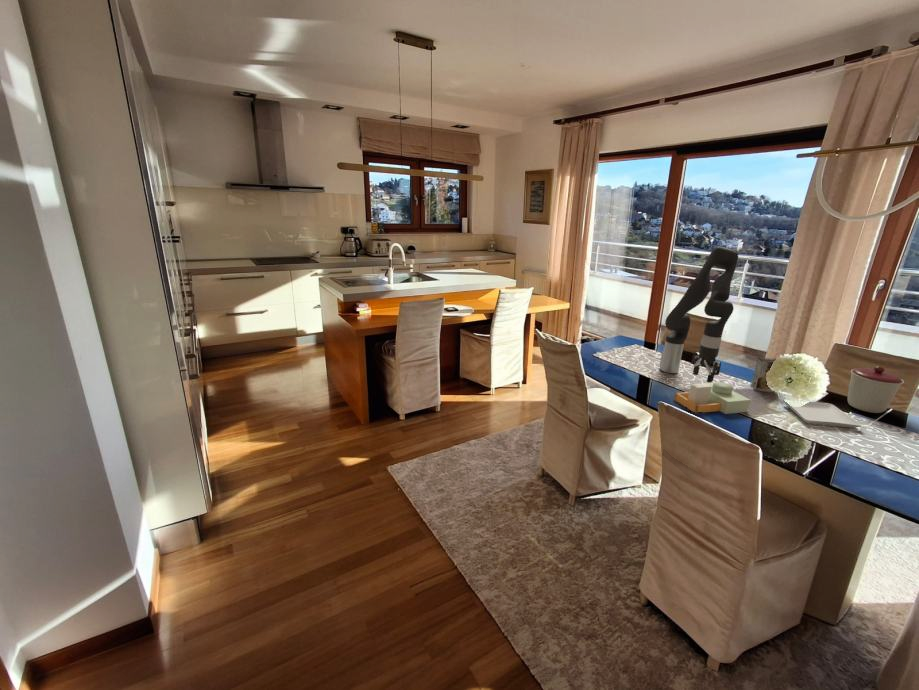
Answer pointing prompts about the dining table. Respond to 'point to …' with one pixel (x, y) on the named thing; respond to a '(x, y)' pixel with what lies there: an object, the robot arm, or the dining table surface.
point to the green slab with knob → (717, 400)
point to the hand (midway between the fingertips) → (702, 378)
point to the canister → (872, 389)
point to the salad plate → (823, 414)
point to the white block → (699, 393)
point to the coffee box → (762, 374)
